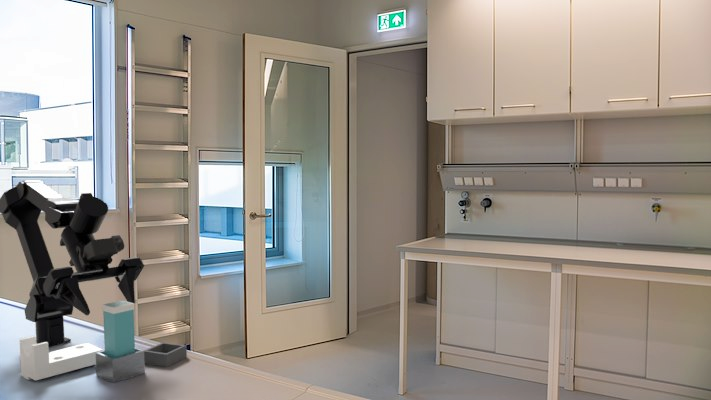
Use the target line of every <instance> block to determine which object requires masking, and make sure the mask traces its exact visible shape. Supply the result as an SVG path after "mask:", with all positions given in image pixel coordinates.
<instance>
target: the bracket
mask: <svg viewBox="0 0 711 400" xmlns="http://www.w3.org/2000/svg"><path fill="white" fill-rule="evenodd" d="M49 348H50V347H48V342H43V343H39V344H37V342H36V335H32V336H27V337H22V338H19V353H20V354H19V355H20V358H19V359H20V374H21V375H20V376H22V377H23V378H24V379H26V380H34V381H39V380H42V379H47V378H50V377H53V376H57V375H60V374H65V373H69V372H72V371H75V370H79V369H83V368H86V367H87V368H88V367H91V366H95V365H96V352H100V351H104V349H102V348H100V347H99V346H98V347H97V346H96V345H93V344H91V343H89V342H86V343H85V342H84V343H81V344H77V345H72V346H68V347H64V348H62V349H57V350H53V351H50V349H49Z"/></svg>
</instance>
